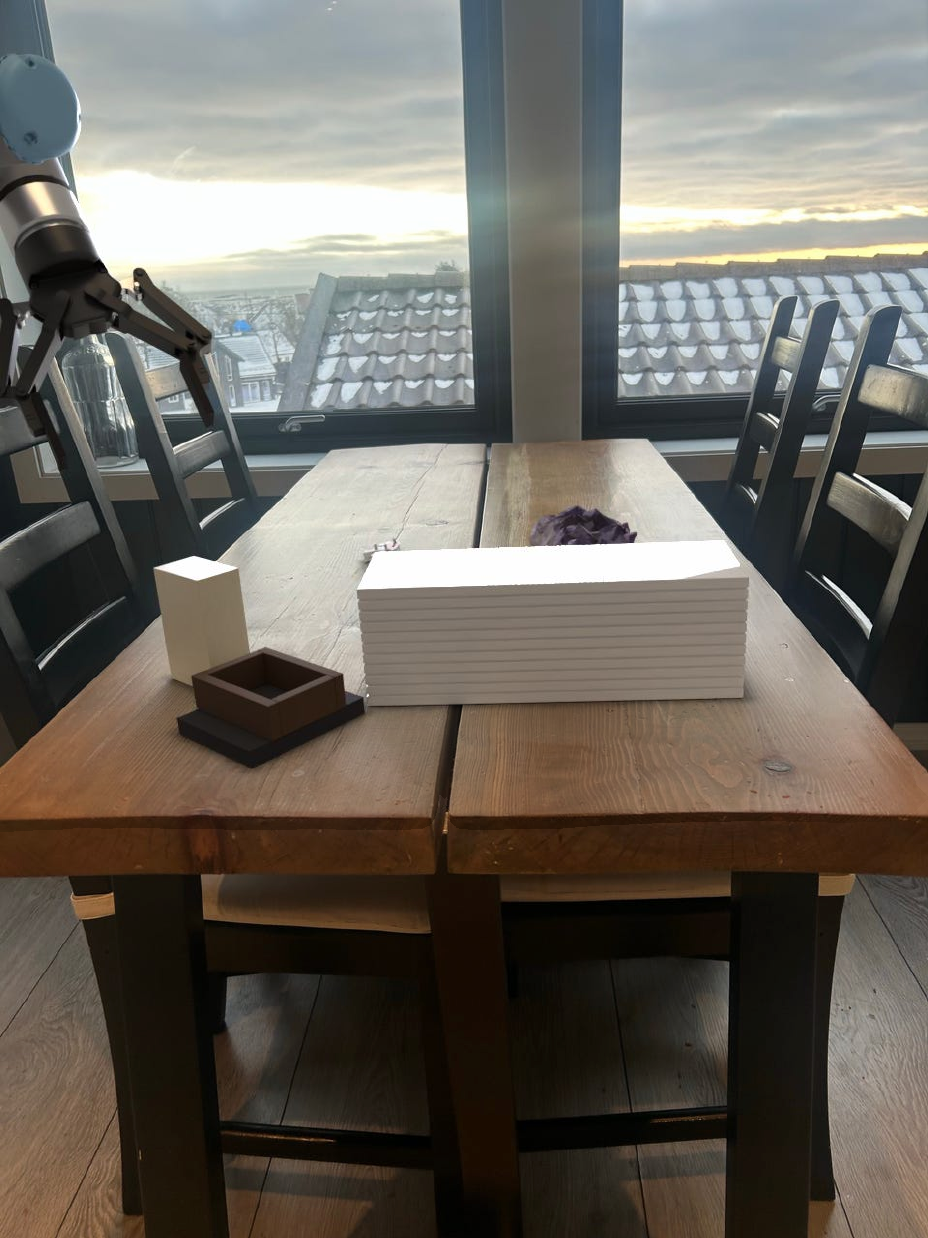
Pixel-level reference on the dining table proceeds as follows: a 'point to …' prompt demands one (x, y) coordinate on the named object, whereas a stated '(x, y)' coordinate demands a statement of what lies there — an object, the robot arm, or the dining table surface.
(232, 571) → the cream rectangular block
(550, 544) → the geode
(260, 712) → the square socket base
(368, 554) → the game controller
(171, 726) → the dining table surface
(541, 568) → the stack of papers
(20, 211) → the robot arm
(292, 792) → the dining table surface
